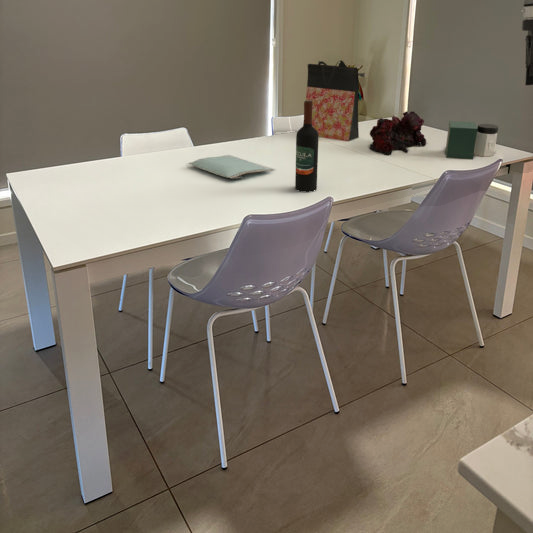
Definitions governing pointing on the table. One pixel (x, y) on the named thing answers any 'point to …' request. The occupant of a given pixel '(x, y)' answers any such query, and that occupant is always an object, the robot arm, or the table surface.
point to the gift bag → (334, 100)
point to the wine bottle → (306, 153)
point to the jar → (485, 140)
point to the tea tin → (460, 143)
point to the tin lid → (462, 125)
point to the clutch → (228, 166)
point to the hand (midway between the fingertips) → (529, 84)
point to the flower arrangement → (397, 134)
